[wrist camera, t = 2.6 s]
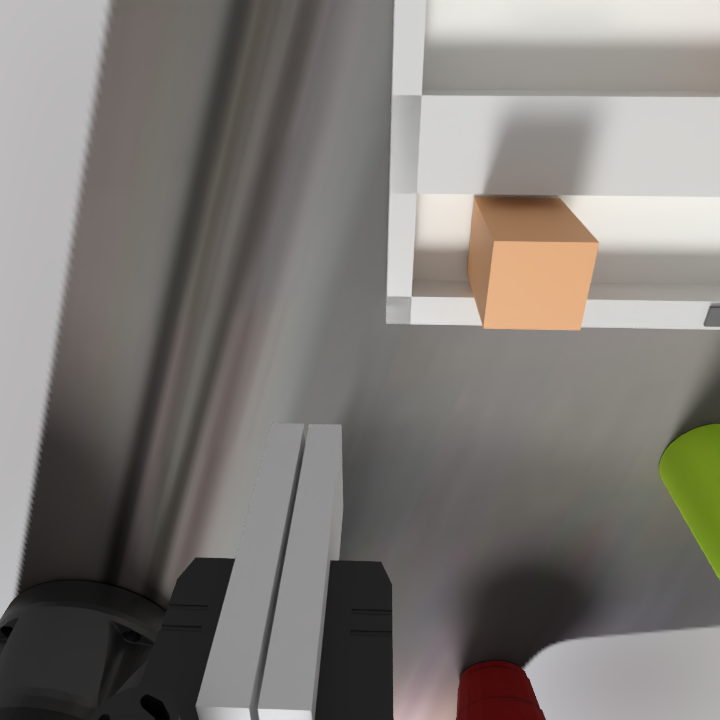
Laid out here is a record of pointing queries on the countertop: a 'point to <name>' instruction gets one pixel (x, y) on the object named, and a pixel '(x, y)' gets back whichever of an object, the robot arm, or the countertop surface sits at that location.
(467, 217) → the grey compartment tray
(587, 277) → the orange rectangular block
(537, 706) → the plastic cup
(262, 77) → the countertop surface
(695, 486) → the soap dispenser
